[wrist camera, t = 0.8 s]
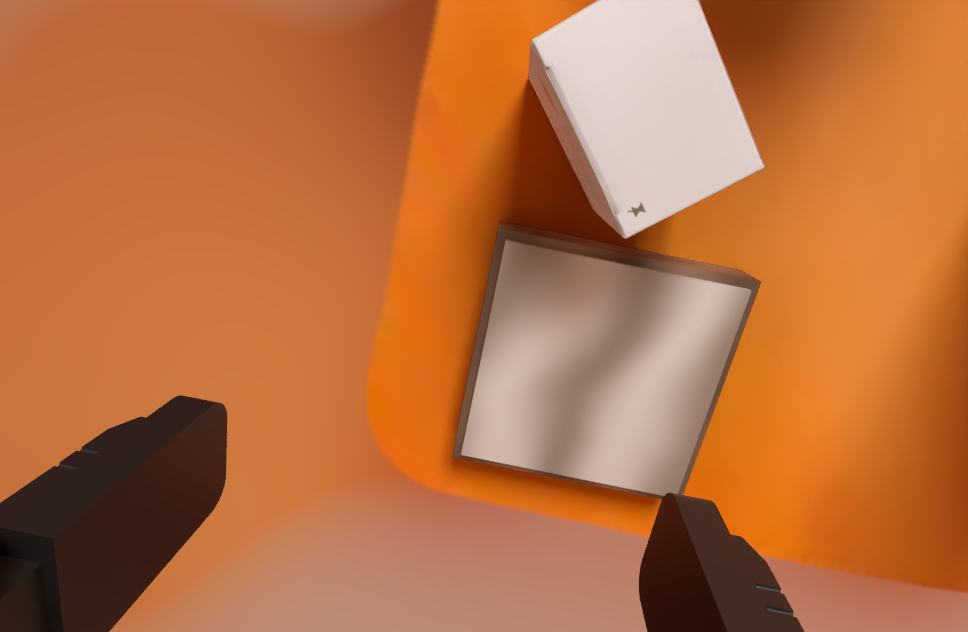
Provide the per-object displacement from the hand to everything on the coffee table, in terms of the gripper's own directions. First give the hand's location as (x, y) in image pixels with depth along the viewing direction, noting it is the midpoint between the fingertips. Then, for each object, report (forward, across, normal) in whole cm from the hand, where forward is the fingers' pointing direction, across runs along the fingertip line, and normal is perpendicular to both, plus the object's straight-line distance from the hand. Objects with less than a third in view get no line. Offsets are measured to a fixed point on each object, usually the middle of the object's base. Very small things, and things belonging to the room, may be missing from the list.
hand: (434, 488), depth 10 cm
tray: (+23, -6, +6) cm, 24 cm away
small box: (+23, -4, -8) cm, 25 cm away
